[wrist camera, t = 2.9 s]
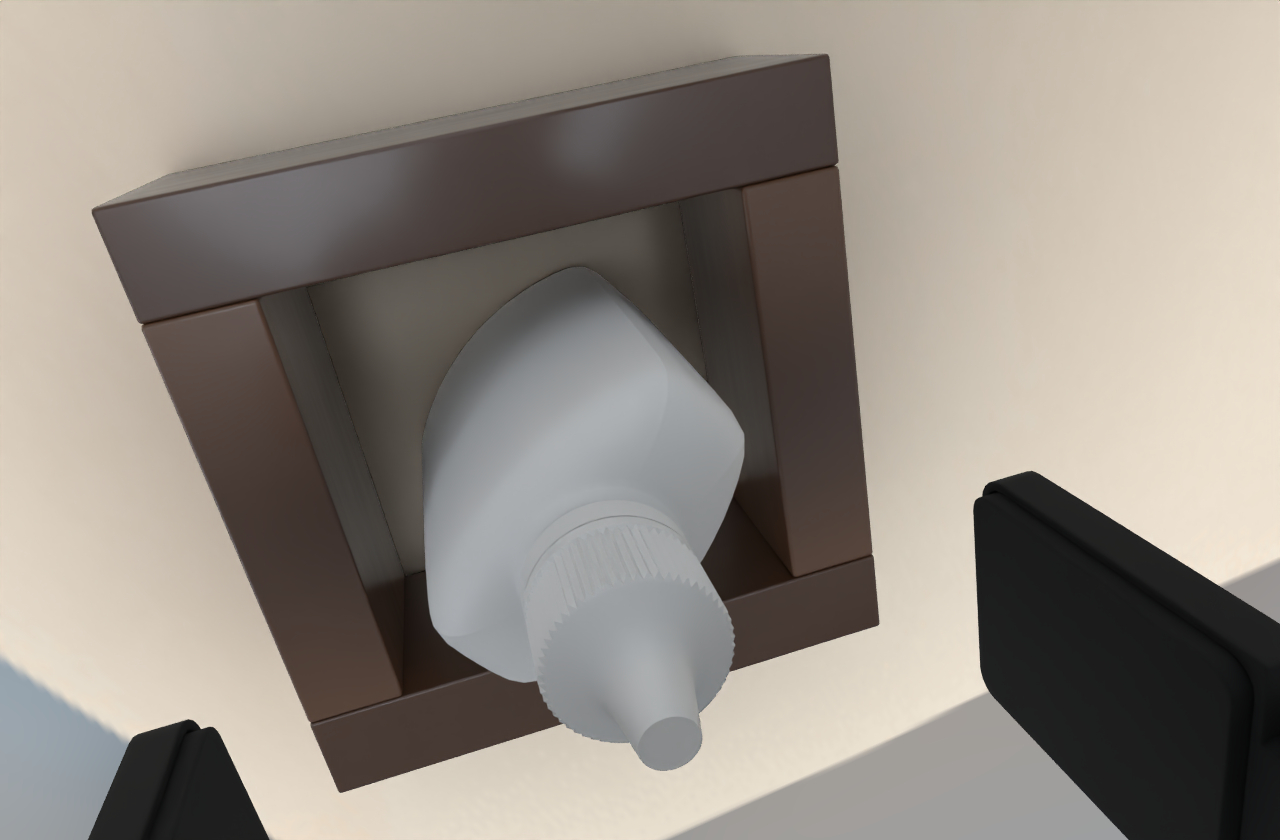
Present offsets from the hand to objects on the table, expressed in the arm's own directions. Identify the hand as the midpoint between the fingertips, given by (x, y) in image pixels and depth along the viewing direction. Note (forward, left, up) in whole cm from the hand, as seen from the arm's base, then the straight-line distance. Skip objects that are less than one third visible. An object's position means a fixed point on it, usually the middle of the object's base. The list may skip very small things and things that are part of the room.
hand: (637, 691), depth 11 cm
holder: (0, 0, -11) cm, 11 cm away
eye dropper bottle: (0, 0, -11) cm, 11 cm away
